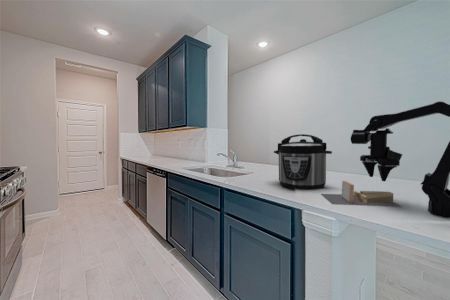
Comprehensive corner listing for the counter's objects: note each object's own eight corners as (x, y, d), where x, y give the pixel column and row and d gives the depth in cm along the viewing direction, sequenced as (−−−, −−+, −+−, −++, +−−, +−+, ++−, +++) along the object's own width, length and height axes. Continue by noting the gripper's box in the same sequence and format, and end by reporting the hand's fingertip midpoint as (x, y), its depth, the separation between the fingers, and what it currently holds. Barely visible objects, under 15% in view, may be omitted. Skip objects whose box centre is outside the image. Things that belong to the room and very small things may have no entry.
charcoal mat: (402, 209, 81) (402, 206, 81) (332, 206, 85) (332, 204, 85) (378, 197, 97) (378, 195, 97) (320, 195, 101) (320, 193, 101)
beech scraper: (398, 204, 84) (398, 195, 83) (364, 203, 86) (364, 194, 85) (384, 198, 92) (384, 189, 92) (353, 197, 94) (354, 189, 94)
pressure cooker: (266, 183, 129) (266, 134, 127) (298, 178, 142) (298, 134, 140) (303, 195, 102) (304, 133, 100) (338, 188, 115) (339, 133, 113)
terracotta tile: (353, 202, 87) (353, 184, 86) (349, 202, 87) (349, 184, 86) (345, 197, 95) (345, 180, 94) (341, 197, 95) (341, 180, 94)
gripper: (415, 144, 77) (414, 184, 78) (385, 143, 95) (384, 175, 96) (383, 145, 79) (382, 183, 80) (360, 143, 97) (359, 175, 98)
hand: (377, 179), depth 88 cm, fingers open, 9 cm apart
